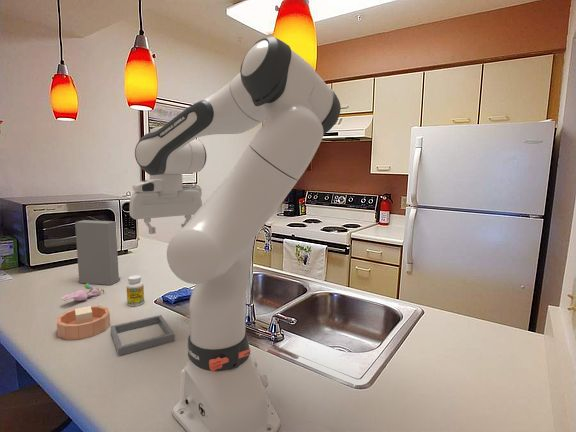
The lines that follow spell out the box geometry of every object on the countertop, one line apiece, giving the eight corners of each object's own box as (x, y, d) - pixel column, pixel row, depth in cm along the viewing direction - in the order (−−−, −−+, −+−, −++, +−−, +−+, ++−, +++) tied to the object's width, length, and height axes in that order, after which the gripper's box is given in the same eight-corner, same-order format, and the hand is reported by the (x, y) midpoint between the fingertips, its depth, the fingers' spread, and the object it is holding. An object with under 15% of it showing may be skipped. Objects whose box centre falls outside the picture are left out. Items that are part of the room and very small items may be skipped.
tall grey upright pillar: (120, 280, 138) (117, 221, 134) (111, 285, 131) (107, 223, 128) (89, 278, 139) (85, 219, 135) (78, 283, 133) (74, 222, 129)
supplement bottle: (142, 299, 119) (141, 273, 118) (145, 304, 115) (144, 278, 113) (126, 302, 116) (124, 276, 115) (128, 307, 112) (127, 280, 110)
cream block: (93, 326, 96) (92, 312, 96) (76, 330, 94) (75, 315, 93) (91, 319, 100) (90, 305, 100) (75, 323, 98) (74, 308, 98)
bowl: (112, 331, 96) (111, 318, 95) (58, 344, 88) (56, 330, 88) (106, 314, 106) (106, 302, 106) (57, 324, 99) (56, 312, 98)
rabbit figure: (94, 295, 125) (55, 303, 111) (96, 279, 125) (56, 286, 111) (107, 297, 123) (68, 307, 109) (108, 281, 123) (70, 288, 109)
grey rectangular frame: (174, 340, 92) (174, 333, 92) (118, 356, 84) (118, 348, 84) (161, 320, 103) (161, 314, 103) (110, 332, 95) (110, 326, 95)
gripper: (197, 183, 104) (199, 226, 106) (126, 185, 92) (129, 234, 94) (205, 184, 99) (206, 229, 101) (131, 186, 87) (134, 237, 89)
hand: (169, 231), depth 97 cm, fingers open, 8 cm apart
